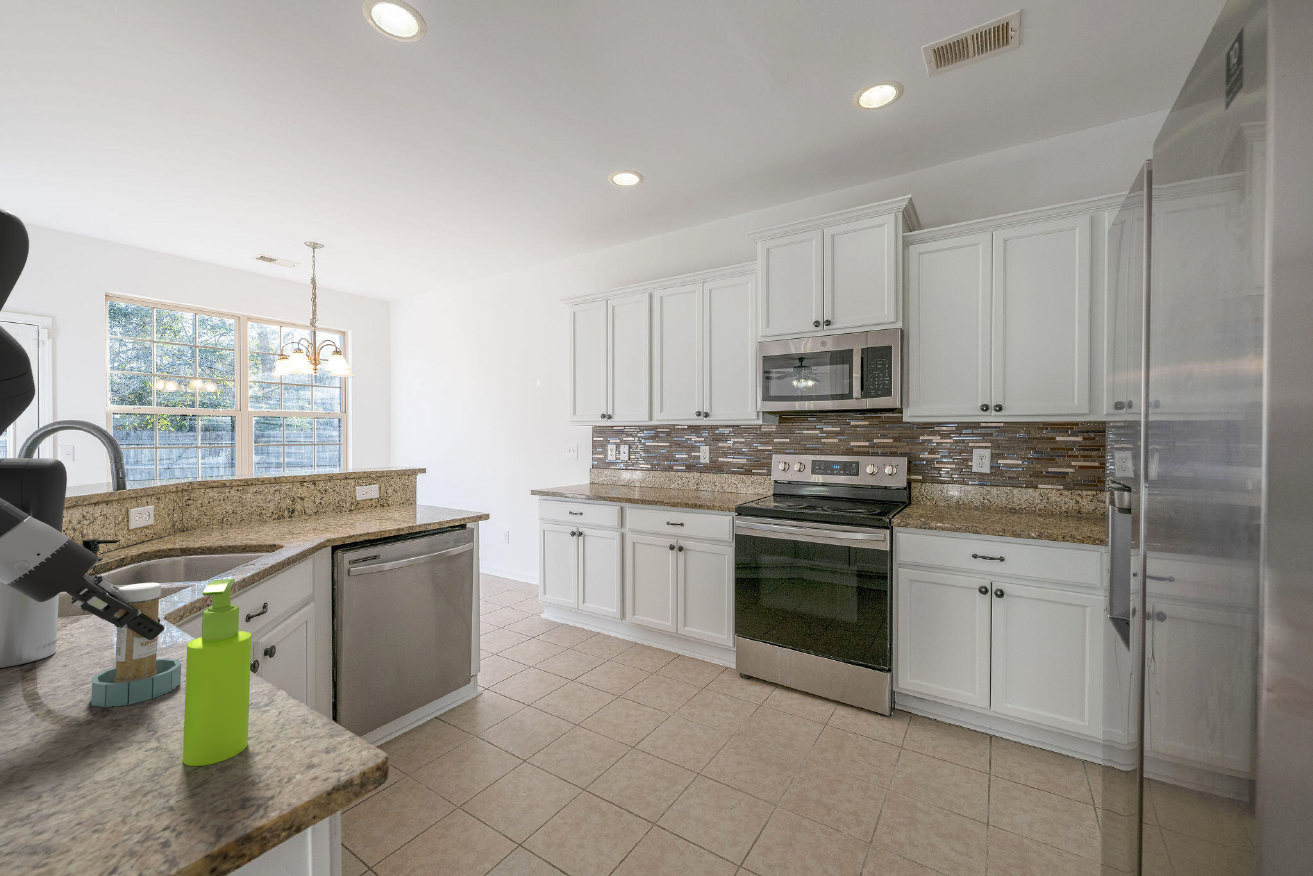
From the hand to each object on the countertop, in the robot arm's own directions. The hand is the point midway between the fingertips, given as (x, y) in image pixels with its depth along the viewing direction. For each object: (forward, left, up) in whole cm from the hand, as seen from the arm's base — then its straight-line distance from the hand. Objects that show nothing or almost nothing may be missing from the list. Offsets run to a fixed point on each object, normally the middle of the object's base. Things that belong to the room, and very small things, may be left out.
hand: (156, 629), depth 79 cm
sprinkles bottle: (-2, -1, -7) cm, 7 cm away
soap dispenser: (+16, -23, -9) cm, 30 cm away
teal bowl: (-2, -1, -8) cm, 9 cm away
